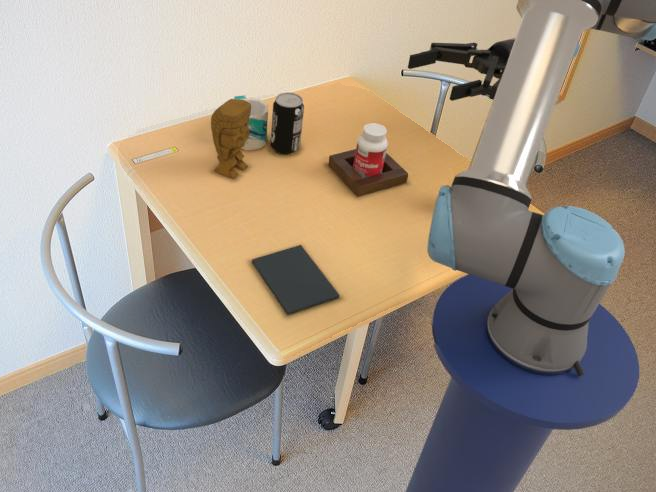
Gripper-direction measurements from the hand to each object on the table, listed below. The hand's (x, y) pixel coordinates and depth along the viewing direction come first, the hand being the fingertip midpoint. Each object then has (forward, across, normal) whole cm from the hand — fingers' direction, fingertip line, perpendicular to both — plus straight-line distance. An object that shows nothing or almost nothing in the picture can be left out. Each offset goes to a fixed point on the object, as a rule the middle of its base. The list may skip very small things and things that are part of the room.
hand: (430, 77), depth 129 cm
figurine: (+37, +13, -20) cm, 44 cm away
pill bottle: (+11, 0, -20) cm, 23 cm away
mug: (+28, +24, -20) cm, 42 cm away
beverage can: (+23, +16, -20) cm, 34 cm away
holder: (+11, 0, -20) cm, 23 cm away
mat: (+41, -22, -20) cm, 50 cm away
